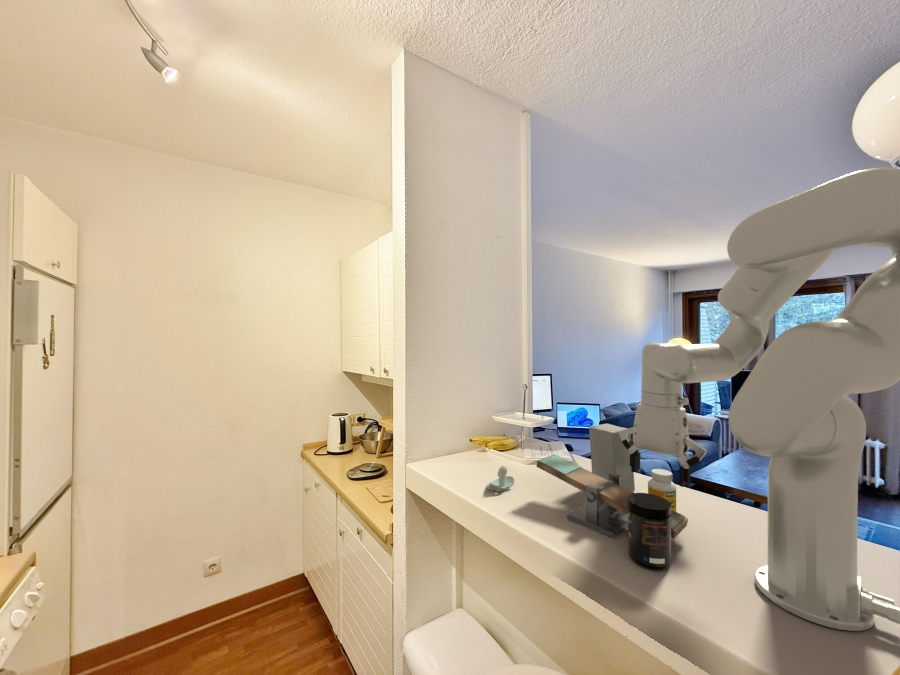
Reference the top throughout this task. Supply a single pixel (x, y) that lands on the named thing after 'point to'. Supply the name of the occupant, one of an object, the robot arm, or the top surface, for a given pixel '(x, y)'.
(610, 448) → the skincare box
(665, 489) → the supplement bottle
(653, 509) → the supplement container
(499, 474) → the pacifier
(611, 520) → the beam stand
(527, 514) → the top surface
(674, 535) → the beam
